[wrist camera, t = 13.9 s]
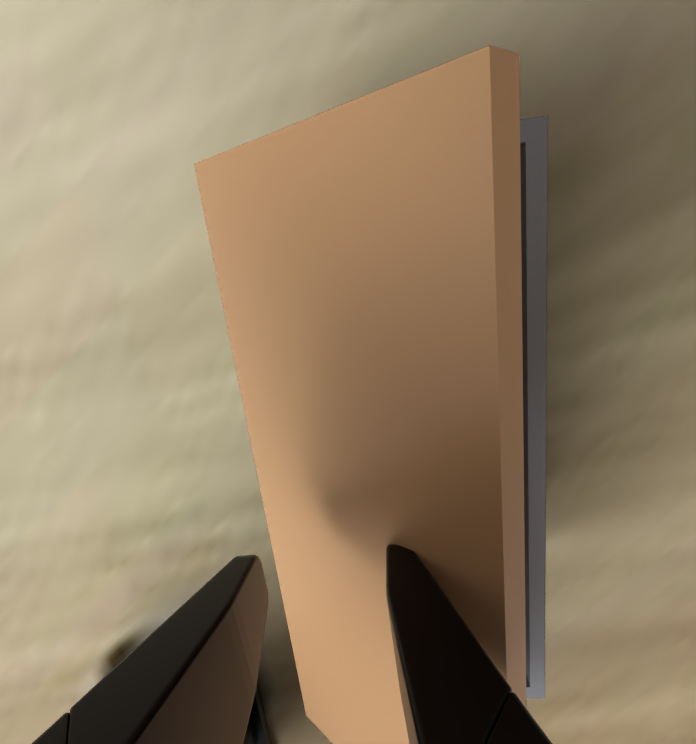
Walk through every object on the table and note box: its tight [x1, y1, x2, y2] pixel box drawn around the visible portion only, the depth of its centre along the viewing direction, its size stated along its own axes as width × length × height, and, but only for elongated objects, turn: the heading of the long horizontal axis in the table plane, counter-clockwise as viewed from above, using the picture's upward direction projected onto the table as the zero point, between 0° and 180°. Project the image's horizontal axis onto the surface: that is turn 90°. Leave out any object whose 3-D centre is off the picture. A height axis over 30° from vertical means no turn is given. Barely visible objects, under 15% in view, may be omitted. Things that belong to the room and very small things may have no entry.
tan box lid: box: [194, 45, 526, 744], centre depth 9 cm, size 15×6×1 cm
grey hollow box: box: [520, 116, 548, 698], centre depth 14 cm, size 15×6×6 cm, turn 7°
